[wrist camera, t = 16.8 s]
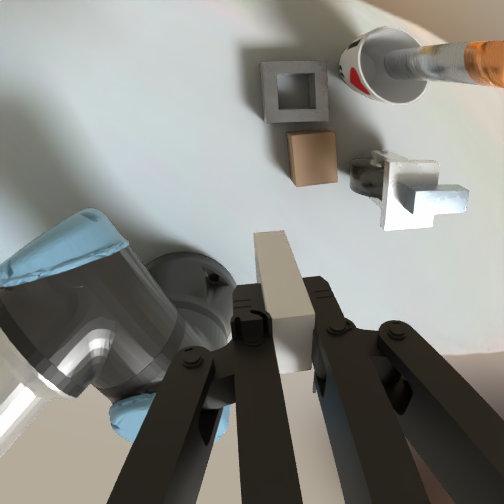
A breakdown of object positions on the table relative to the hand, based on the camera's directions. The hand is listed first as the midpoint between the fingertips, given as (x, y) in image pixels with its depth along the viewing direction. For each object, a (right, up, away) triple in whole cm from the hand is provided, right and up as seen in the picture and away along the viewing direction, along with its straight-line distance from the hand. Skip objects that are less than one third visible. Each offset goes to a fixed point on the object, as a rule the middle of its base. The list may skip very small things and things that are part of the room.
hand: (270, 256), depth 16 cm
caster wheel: (+14, +11, +23) cm, 29 cm away
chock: (+6, +12, +22) cm, 26 cm away
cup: (+12, +22, +17) cm, 31 cm away
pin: (+13, +18, +8) cm, 23 cm away
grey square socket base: (+4, +19, +18) cm, 26 cm away
